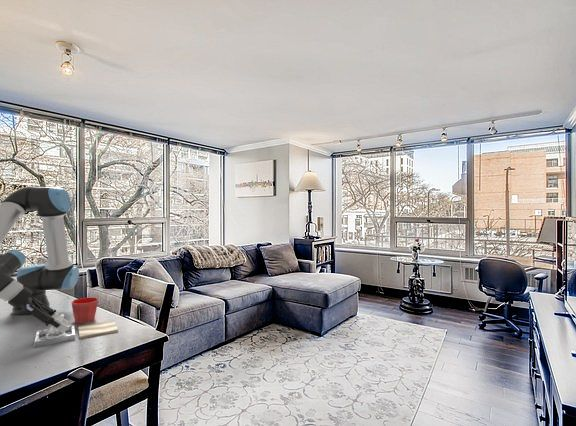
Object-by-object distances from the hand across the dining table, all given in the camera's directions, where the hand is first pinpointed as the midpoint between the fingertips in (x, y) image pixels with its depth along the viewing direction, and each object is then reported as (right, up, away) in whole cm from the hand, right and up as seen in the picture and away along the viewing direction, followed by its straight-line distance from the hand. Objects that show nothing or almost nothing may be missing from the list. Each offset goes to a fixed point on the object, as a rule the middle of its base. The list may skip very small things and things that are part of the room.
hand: (65, 327), depth 133 cm
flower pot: (-4, -4, +18) cm, 19 cm away
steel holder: (-3, -4, -2) cm, 5 cm away
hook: (-3, -4, -2) cm, 5 cm away
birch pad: (+9, -4, +7) cm, 12 cm away
